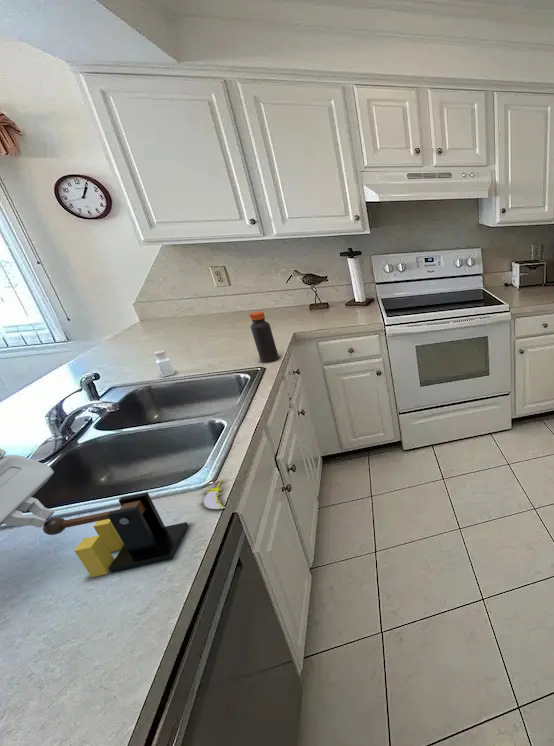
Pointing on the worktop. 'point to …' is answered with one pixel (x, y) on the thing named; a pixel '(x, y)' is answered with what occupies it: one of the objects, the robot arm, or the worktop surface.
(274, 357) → the bottle
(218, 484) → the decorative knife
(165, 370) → the pepper shaker
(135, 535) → the bracket
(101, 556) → the butter
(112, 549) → the butter
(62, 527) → the arm
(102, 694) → the worktop surface
